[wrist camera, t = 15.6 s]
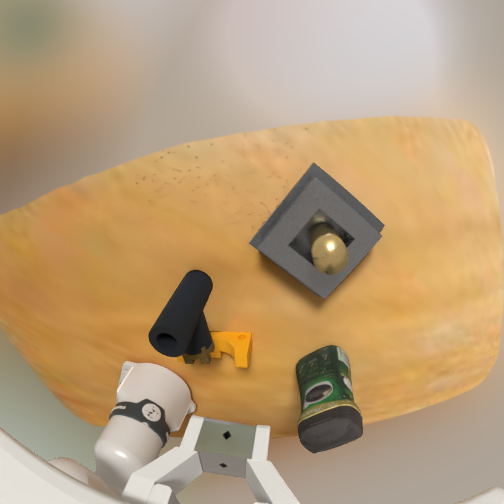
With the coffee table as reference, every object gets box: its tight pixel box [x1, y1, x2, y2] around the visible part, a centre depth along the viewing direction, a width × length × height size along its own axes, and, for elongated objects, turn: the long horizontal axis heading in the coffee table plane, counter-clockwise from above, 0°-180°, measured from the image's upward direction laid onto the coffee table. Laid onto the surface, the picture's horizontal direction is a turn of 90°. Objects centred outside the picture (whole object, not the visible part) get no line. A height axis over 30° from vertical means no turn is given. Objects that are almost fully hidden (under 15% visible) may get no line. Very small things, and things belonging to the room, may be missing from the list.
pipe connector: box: [149, 270, 215, 364], centre depth 40 cm, size 12×5×15 cm, turn 9°
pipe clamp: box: [177, 331, 252, 367], centre depth 47 cm, size 12×4×6 cm, turn 93°
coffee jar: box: [296, 345, 363, 453], centre depth 40 cm, size 10×8×19 cm
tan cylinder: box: [308, 224, 349, 275], centre depth 37 cm, size 4×4×8 cm
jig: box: [249, 163, 385, 299], centre depth 39 cm, size 15×14×5 cm
